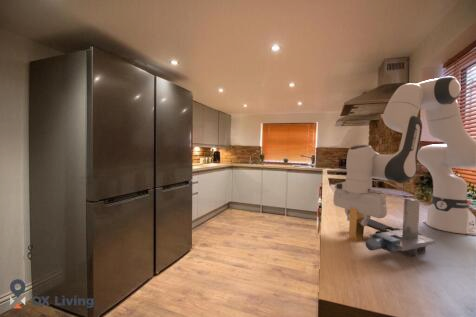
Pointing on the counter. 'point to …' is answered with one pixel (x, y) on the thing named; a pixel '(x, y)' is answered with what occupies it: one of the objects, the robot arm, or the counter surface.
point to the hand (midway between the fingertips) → (356, 223)
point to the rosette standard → (402, 233)
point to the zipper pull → (383, 228)
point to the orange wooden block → (355, 225)
